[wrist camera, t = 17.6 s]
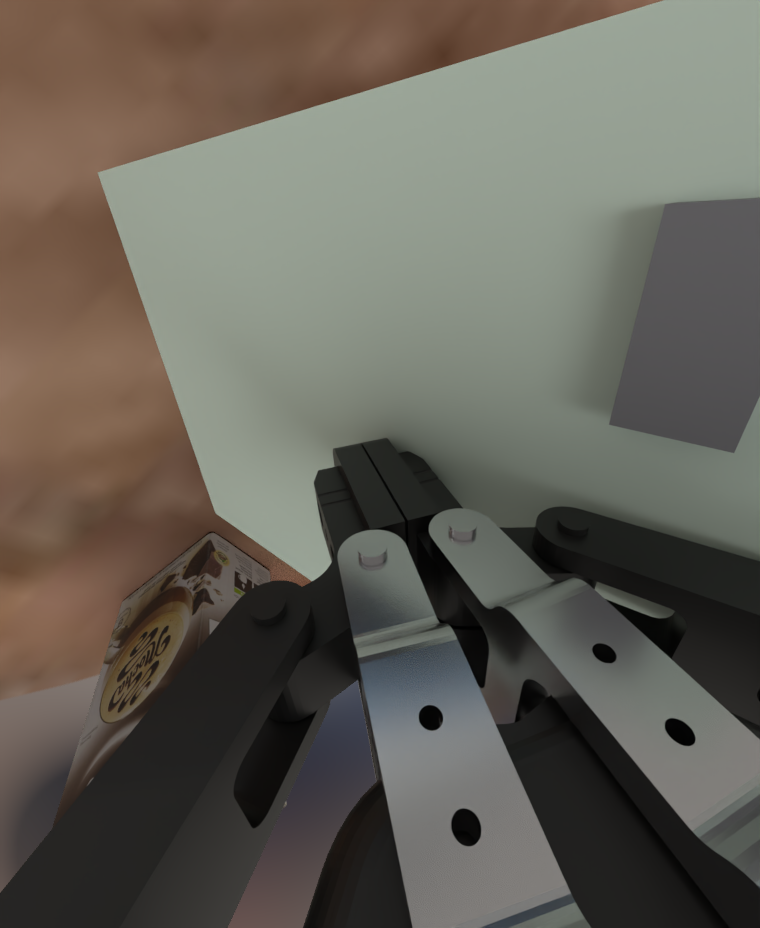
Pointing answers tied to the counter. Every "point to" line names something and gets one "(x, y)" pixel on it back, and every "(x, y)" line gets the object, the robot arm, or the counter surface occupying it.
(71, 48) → the counter surface
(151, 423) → the counter surface
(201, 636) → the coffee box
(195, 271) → the lid
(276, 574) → the counter surface
